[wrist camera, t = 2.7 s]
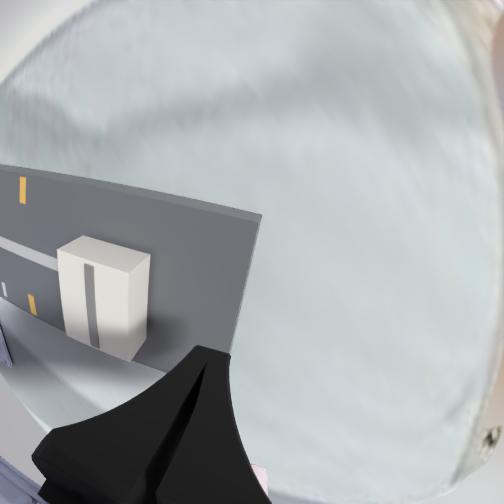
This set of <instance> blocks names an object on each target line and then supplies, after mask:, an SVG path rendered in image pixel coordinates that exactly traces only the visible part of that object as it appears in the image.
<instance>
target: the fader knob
mask: <svg viewBox="0 0 504 504" xmlns="http://www.w3.org/2000/svg"><path fill="white" fill-rule="evenodd" d="M57 259H58V273H59V284H60V293H61V302H62V309H63V316H64V323H65V329H66V335H67V336H69V337H71V338H73V339H75V340H77V341H79V342H81V343H84V344H86V345H88V346H90V347H93V348H95V349H97V350H99V351H102V352H104V353H107V354H109V355H111V356H114V357H116V358H119V359H121V360H124V361H127V362H129V363H130V362H131V360H132V359H133V357H134V356H135V354H136V353H137V351H138V350H139V348H140V347H141V346H142V344H143V343H144V341H145V340H146V334H147V301H148V282H149V267H150V254H147V253H144V252H140V251H136V250H133V249H129V248H126V247H122V246H119V245H115V244H112V243H108V242H105V241H101V240H98V239H94V238H91V237H87V236H84V235H83V236H81V237H79V238H77V239H75V240H73V241H71V242H70V243H68V244H66V245H64V246H62V247H60V248H59V249H57Z"/></svg>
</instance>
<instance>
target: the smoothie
mask: <svg viewBox="0 0 504 504" xmlns="http://www.w3.org/2000/svg"><path fill="white" fill-rule="evenodd" d="M251 466H252V469H253V471H254V473H255V475H256V477H257V479H258V481H259V483H260V485H261V486H262V488H263V490H264V491H265V493H266V495H267V496H268V488H267V472H266V470H265V469H264V468H262V467H260V466H257V465H254V464H251Z"/></svg>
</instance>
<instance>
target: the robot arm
mask: <svg viewBox="0 0 504 504" xmlns="http://www.w3.org/2000/svg"><path fill="white" fill-rule="evenodd" d="M230 359H231V356H230V354H229V353H226V352H222V351H218V350H215V349H211V348H207V347H204V346H200V345H196V346H194V347H193V349H192V350H191V351H190V352H189V353H188V354H187V355H186V356H185V357H184V358H183V359H182V360H181V361H180V362H179V363H178V364H177V365H176V366H175V367H174V368H173V369H172V370H170V371H169V372H168V373H167V374H166V375H165V376H164V377H162V378H161V379H160V380H158V381H157V382H156V383H154V384H153V385H152V386H150V387H149V388H148V389H146V390H145V391H143V392H142V393H140V394H139V395H137V396H136V397H134V398H132V399H131V400H129V401H127V402H125V403H123V404H122V405H120V406H118V407H116V408H114V409H112V410H110V411H107V412H105V413H103V414H100V415H98V416H95V417H93V418H90V419H87V420H85V421H82V422H78V423H75V424H71V425H67V426H63V427H59V428H55V429H52V430H51V431H50V432H49V434H48V435H46V436H45V438H44V439H43V440H42V441H41V443H40V444H39V445H38V447H37V448H36V450H35V451H34V453H33V454H32V461H33V462H34V464H35V465H36V467H37V468H38V469H39V470H40V472H41V473H42V474H43V475H44V477H45V478H46V481H45V482H44V484H43V485H42V487H41V486H40V485H38V484H37V483H35V482H34V481H32V480H31V479H30V478H28V477H27V476H25V475H24V474H23V473H21V472H20V471H19V470H17V469H16V468H15V467H13V466H12V465H11V464H10V463H8V462H7V461H6V460H5V459H3V458H2V457H1V456H0V504H37V502H38V503H39V504H272V503H271V501H270V500H269V498H268V496H267V495H266V493H265V491H264V490H263V488H262V486H261V485H260V483H259V481H258V479H257V477H256V475H255V473H254V471H253V469H252V466H251V464H250V462H249V460H248V457H247V455H246V452H245V450H244V447H243V444H242V441H241V439H240V435H239V432H238V429H237V425H236V421H235V417H234V412H233V407H232V401H231V393H230V384H229V365H230ZM0 361H2V362H3V363H4V364H6V365H7V366H8V367H12V366H13V364H12V361H11V358H10V356H9V353H8V350H7V347H6V344H5V341H4V337H3V334H2V331H1V327H0Z"/></svg>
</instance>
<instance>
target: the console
mask: <svg viewBox="0 0 504 504" xmlns="http://www.w3.org/2000/svg"><path fill="white" fill-rule="evenodd" d="M261 218H262V215H260V214H256V213H252V212H248V211H244V210H239V209H235V208H231V207H226V206H222V205H218V204H213V203H209V202H204V201H200V200H195V199H190V198H186V197H181V196H176V195H172V194H167V193H162V192H157V191H152V190H147V189H142V188H137V187H132V186H127V185H122V184H116V183H111V182H106V181H100V180H95V179H89V178H84V177H78V176H72V175H66V174H60V173H54V172H48V171H42V170H35V169H29V168H22V167H15V166H8V165H1V164H0V297H2V298H3V299H5V300H7V301H8V302H10V303H12V304H14V305H15V306H17V307H19V308H21V309H22V310H24V311H26V312H28V313H30V314H31V315H33V316H35V317H37V318H39V319H41V320H43V321H45V322H47V323H49V324H50V325H52V326H54V327H56V328H59V329H61V330H63V331H65V332H66V329H65V323H64V316H63V309H62V302H61V293H60V284H59V273H58V259H57V249H59V248H60V247H62V246H64V245H66V244H68V243H70V242H71V241H73V240H75V239H77V238H79V237H81V236H83V235H84V236H87V237H91V238H94V239H98V240H101V241H105V242H108V243H112V244H115V245H119V246H122V247H126V248H129V249H133V250H136V251H140V252H144V253H147V254H150V267H149V282H148V301H147V334H146V340H145V341H144V343H143V344H142V346H141V347H140V348H139V350H138V351H137V353H136V354H135V356H134V357H133V359H132V360H133V361H135V362H138V363H141V364H144V365H146V366H149V367H152V368H155V369H158V370H161V371H164V372H167V373H168V372H169V371H170V370H172V369H173V368H174V367H175V366H176V365H177V364H178V363H179V362H180V361H181V360H182V359H183V358H184V357H185V356H186V355H187V354H188V353H189V352H190V351H191V350H192V349H193V347H194V346H196V345H200V346H204V347H207V348H211V349H215V350H218V351H222V352H226V353H229V354H230V351H231V347H232V343H233V338H234V334H235V330H236V326H237V321H238V317H239V313H240V308H241V304H242V300H243V295H244V291H245V287H246V282H247V278H248V274H249V269H250V265H251V261H252V256H253V252H254V248H255V244H256V239H257V235H258V231H259V226H260V222H261Z"/></svg>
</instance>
